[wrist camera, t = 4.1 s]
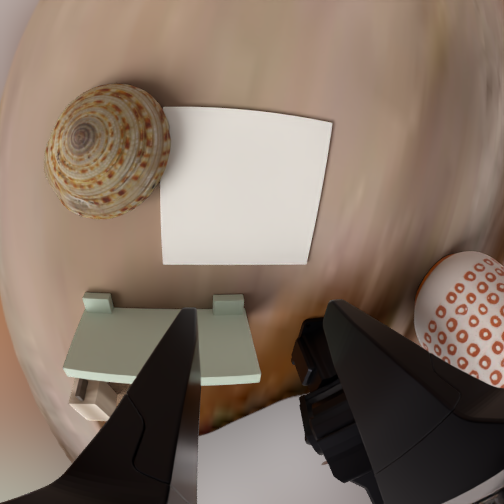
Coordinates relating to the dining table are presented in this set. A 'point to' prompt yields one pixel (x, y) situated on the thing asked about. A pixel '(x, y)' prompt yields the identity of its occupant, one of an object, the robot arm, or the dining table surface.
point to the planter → (464, 314)
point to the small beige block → (93, 399)
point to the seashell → (107, 151)
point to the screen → (150, 333)
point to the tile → (241, 186)
